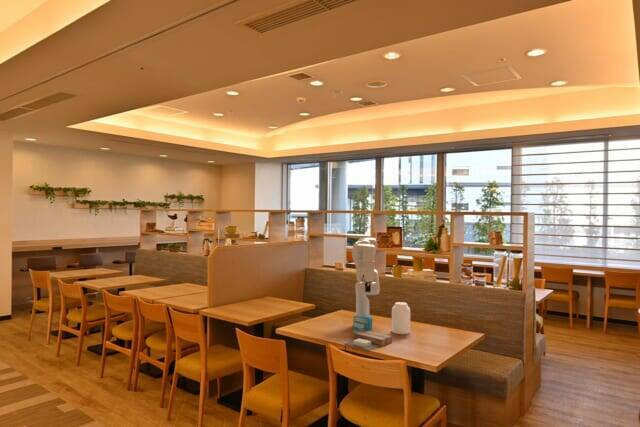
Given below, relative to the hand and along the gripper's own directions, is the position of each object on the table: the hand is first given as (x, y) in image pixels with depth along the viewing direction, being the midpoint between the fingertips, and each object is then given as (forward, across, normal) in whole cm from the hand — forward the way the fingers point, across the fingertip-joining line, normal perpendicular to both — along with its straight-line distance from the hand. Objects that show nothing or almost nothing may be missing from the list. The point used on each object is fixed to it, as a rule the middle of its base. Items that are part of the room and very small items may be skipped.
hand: (367, 291), depth 286 cm
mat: (+29, +18, +9) cm, 35 cm away
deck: (+29, +6, +9) cm, 31 cm away
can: (+29, -24, +11) cm, 39 cm away
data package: (+29, -2, -5) cm, 30 cm away
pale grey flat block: (+26, +18, +9) cm, 33 cm away
